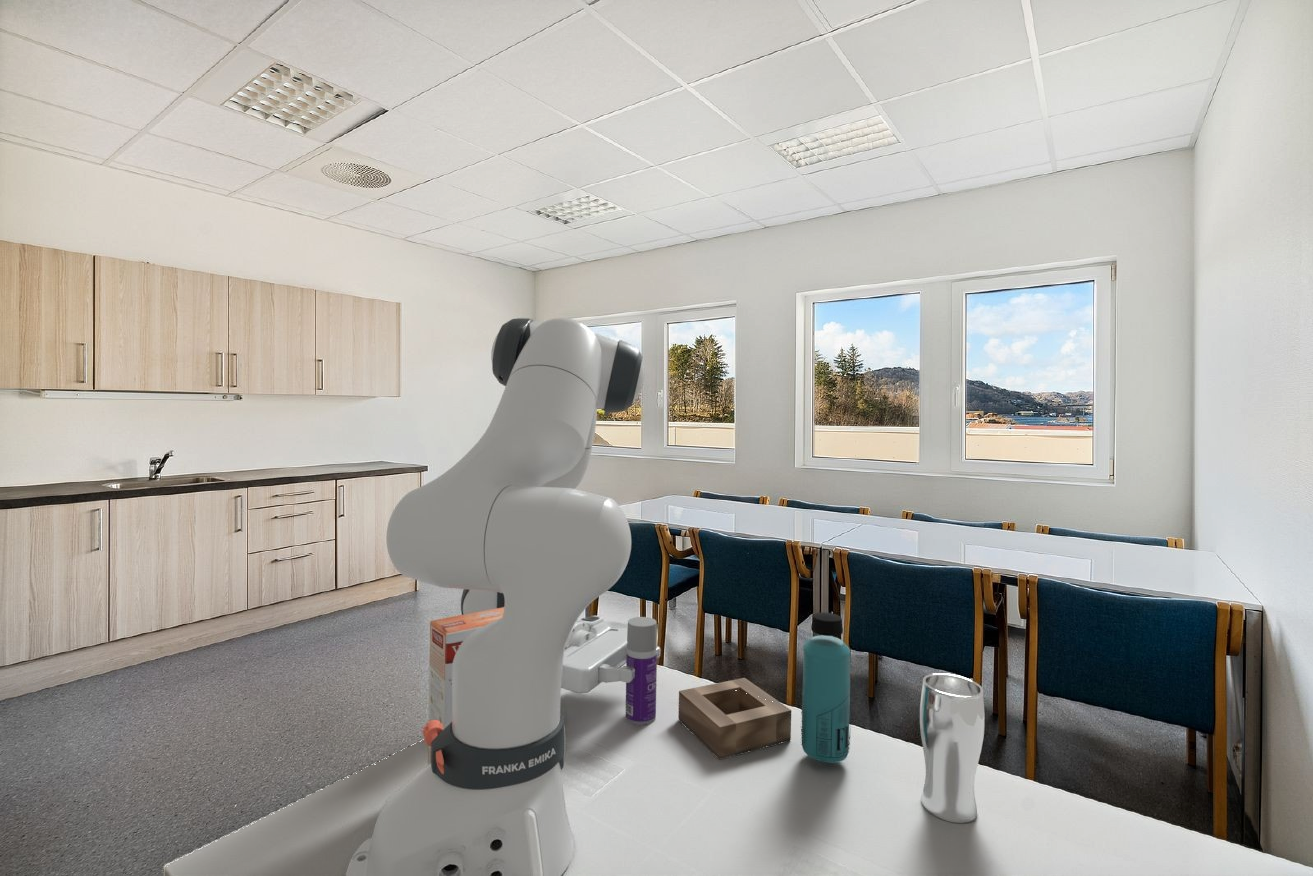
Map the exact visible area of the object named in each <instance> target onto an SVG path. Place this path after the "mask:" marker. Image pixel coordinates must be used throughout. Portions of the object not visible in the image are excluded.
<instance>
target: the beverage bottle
mask: <svg viewBox="0 0 1313 876" xmlns="http://www.w3.org/2000/svg"><path fill="white" fill-rule="evenodd" d="M810 625H811V626H810V629H811V632H813V633H815V634H817V635H815V636H813V637H811V638H810V639H808V640H807V641H806V642H805V643H803V646H802V647H803V648H802V651H803V653H802V654H803V658H802V659H803V662H802V664H803V665H802V666H803V667H802V689H801V690H802V691H801V692H802V693H801V694H802V695H801V697H802V698H801V712H800V716H801V717H800V719H801V725H800V737H801V738H800V739H801V743H800V745H801V747H802V750H803V751H804V753H805V755H807V756H808V757H810V758H811V759H814V760H816V761H819V762H824V763H840V762H842V761H845V760H846V759H847V757H848V756H849V753H850V750H851V749H850V748H851V735H850V725H851V721H850V719H851V714H852V713H851V710H852V708H851V704H850V703H851V702H850V701H851V699H850V698H851V697H850V696H851V695H850V694H851V691H852V688H851V655H852V653H851V649H850V647H849V646H848V645H847V644H846V643H845V642H844V641H843V640H842V639H840V638H838V637H839V636H841V635H842V634H843V633H844V630H843V629H844V628H843V618H842V617H841V616H840V615H838V614H835V613H832V612H817V613H814V614H813V615H812V619H811V624H810ZM837 636H838V637H837Z"/></svg>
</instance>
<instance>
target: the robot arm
mask: <svg viewBox="0 0 1313 876" xmlns="http://www.w3.org/2000/svg"><path fill="white" fill-rule="evenodd" d="M491 346H492V347H491V351H490V353H491V355H490V359H491V365H492V366H491V367H492V368H491V369H492V374H493V376H494V377H495V378H496V380H497V381H498V383H499V384H500V385H502V386H504V387H505V388H504V391H503V392H502V395H501V398H500V401H499V402H498V405H497V407H496V410H495V413H494V414H493V416H492V419H491V420H490V423H489V425H488V427H487V429H486V430H485V431H484V433H483V434H482V436H481V437H480V439H479V440H478V441H477V442H476V443H475V444H474V445H473V447H472V448H471V449H470V450H469V451H468V452H467V453H466V454H465V455H464V456H463V457H461V458H460V459H459V461H457V462H456V463H455V464H454V465H453V466H452V467H450V468H449V469H448V470H447V471H445V472H443V474H441V475H439V476H437V478H435V479H433V480H432V481H430V482H428V483H426V484H424V485H422V486H419V487H417V488H414V489H413V490H411V491H409V492H407V494H405V495H404V496H403V497H402V498H401V499H400V500H399V501H398V503H397V504H396V505H395V507H394V508H393V510H392V511H391V514H390V517H389V520H388V523H387V526H386V527H387V528H386V535H385V536H386V540H385V541H386V548H387V552H388V555H389V559H390V561H391V562H392V564H393V567H394V568H395V569H396V570H397V572H398V573H399V574H401V575H402V576H405V577H407V578H410V579H412V580H416V581H419V582H423V583H425V584H429V585H433V586H435V587H439V588H442V589H456V590H459V589H460V590H462V594H461V597H460V611H461V612H460V613H461V615H465V614H470V613H475V612H481V611H486V610H492V609H497V608H502V607H504V613H503V617H502V618H500V619H497V620H495V621H493V622H491V623H488V624H486V625H484V626H483V627H481V628H479V629H477V630H476V631H474V632H472V633H471V634H470V635H469V636H467V637H466V638H465V640H464V641H463V642H462V643H461V645H460V646H459V648H458V650H457V652H456V654H455V657H454V660H453V664H452V722H451V723H450V724H449V725H448V726H447V727H446V728H445V729H444V730H443V726H442V723H440V721H438V720H432V721H429V720H428V722H426V723H425V725H424V726H423V729H422V735H423V739H424V743H425V744H426V745H427V746H428V745H429V746H431V763H430V764H429V765H428V764H427V765H426V767H424V768H423V769H421V771H420V772H418V773H417V774H416V775H415V776H414V777H413V778H411V779H410V780H408V782H407V783H405V784H404V785H403V786H402V787H400V788H399V789H398V790H397V791H395V792H394V793H393V794H392V795H391V796H389V798H388V799H387V800H386V801H385V802H384V804H383V805H382V807H381V809H380V811H379V813H378V815H377V818H376V821H375V825H374V828H373V832H372V835H371V837H369V838H367V839H365V840H364V841H363V842H362V843H361V844H360V845H359V846H358V848H357V849H356V850H355V852H354V853H353V855H352V857H351V858H350V861H349V862H348V863H349V864H348V865H347V868H346V872H345V876H562V875H563V874H564V872H565V871H566V870H567V868H568V867H569V865H570V863H571V861H572V860H573V859H572V858H573V856H574V852H575V838H574V834H573V831H572V829H571V825H570V822H569V817H568V813H567V807H566V801H565V794H564V783H563V774H562V772H563V771H562V770H563V769H564V767H565V766H564V765H565V756H566V727H565V726H566V725H565V717H564V715H563V714H561V694H562V689H564V690H566V691H568V692H573V693H576V694H586V693H590V692H592V691H593V690H594V689H595V688H596V687H597V686H598V687H599V685H600V684H602V683H604V684H605V683H606V684H608V683H617V682H622V683H626V682H627V683H629V682H631V681H632V680H633V679H634V678H635V669H634V668H633V667H628V666H626V653H627V629H628V623H625V622H620V621H616V620H615V621H614V620H605V619H604V617H603V616H602V615H601V616H600V615H591V616H587V617H583V618H579V617H580V616H581V615H582V613H583V612H584V611H585V610H586V609H587V608H588V606H589V605H590V604H592V602H594V601H595V600H596V599H597V598H599V597H600V596H602V595H603V594H604V593H607V591H609V590H610V589H612V587H613V586H614V585H615V584H616V583H617V582H618V581H619V579H620V578H621V577H622V575H623V573H624V571H625V570H626V567H627V565H628V564H629V563H628V562H629V559H630V556H631V551H632V533H631V528H630V524H629V521H628V518H627V517H626V514H625V513H624V510H623V509H622V508H621V506H620V505H619V504H618V502H617V501H616V500H614V499H613V498H611V497H608V496H604V495H601V494H596V493H594V492H589V491H585V490H580V489H577V487H579V485H580V484H581V482H582V480H583V478H584V475H585V474H586V471H587V469H588V466H589V463H590V460H591V454H592V450H593V446H594V440H595V433H596V429H597V428H596V425H597V418H598V415H597V414H598V410H599V409H600V410H601V411H603V412H604V415H603V416H604V417H608V416H609V415H610V414H616V413H623V412H624V411H626V410H628V409H630V408H631V407H632V406H633V403H634V402H635V401H636V400H637V398H638V397H639V396H640V394H641V392H642V389H643V386H644V382H645V375H646V374H645V366H644V362H643V361H644V360H643V357H644V356H643V354H642V353H641V351H640V348H638V347H636V346H635V345H632V344H631V343H628V342H627V341H624V340H622V339H619V340H618V341H617V340H615V339H611V338H610V337H607V336H604V335H600V334H598V333H594V332H593V330H592V329H591V328H590V327H589V326H587V325H586V324H584V323H582V322H581V321H579V320H577V319H572V318H568V317H555V318H554V317H553V318H551V319H548V320H546V321H535V320H534V319H533V318H529V317H528V318H527V317H526V318H525V317H523V318H522V317H520V318H519V317H518V318H512V319H510V320H509V321H506V322H505V323H504V324H502V325H501V327H500V329H499V331H498V333H497V334H496V336H495V338H494V339H493V343H492V345H491ZM661 651H662V650H661V647H660V646H658V645H657V660H658V659H659V658H660V657H661Z"/></svg>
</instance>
